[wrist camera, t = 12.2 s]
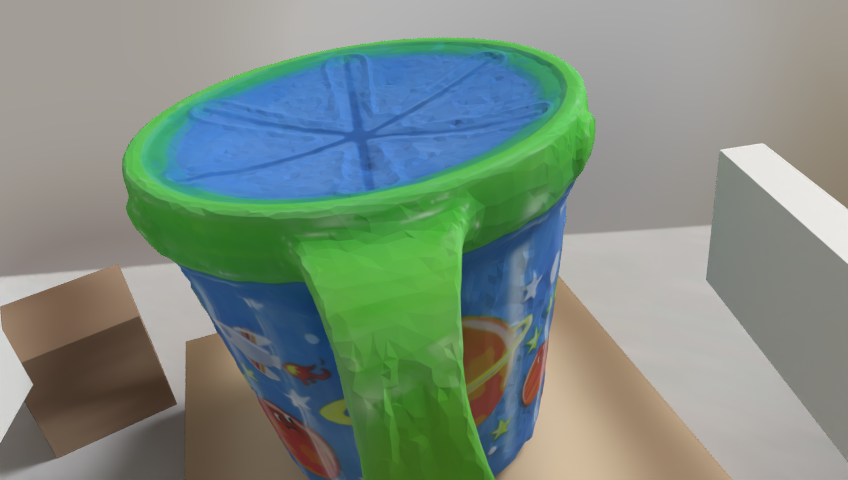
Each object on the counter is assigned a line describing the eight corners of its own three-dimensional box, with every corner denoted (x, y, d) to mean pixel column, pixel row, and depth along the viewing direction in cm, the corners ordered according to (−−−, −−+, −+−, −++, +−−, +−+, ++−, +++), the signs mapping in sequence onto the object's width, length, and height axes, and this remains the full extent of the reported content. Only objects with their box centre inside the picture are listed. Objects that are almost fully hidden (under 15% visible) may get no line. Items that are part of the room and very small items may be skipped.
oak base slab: (536, 305, 30) (533, 246, 28) (758, 600, 18) (773, 527, 17) (209, 400, 28) (185, 341, 26) (222, 810, 16) (182, 748, 14)
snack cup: (278, 290, 28) (205, 39, 23) (539, 256, 28) (526, -7, 23) (177, 718, 15) (-56, 351, 10) (676, 662, 14) (721, 250, 9)
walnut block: (153, 347, 31) (118, 263, 29) (177, 405, 28) (139, 316, 25) (47, 391, 30) (0, 306, 27) (58, 459, 26) (5, 368, 24)
